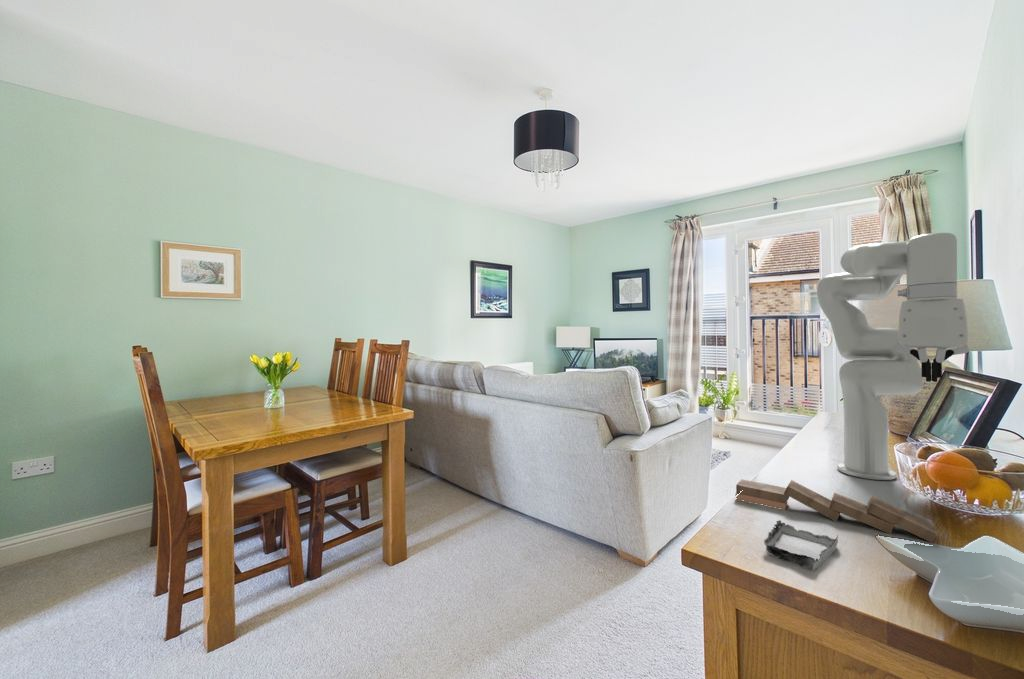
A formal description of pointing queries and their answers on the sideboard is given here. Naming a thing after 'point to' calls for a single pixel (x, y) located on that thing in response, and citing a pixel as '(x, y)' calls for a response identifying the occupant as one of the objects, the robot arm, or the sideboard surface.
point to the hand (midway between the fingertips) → (931, 381)
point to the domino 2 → (760, 501)
